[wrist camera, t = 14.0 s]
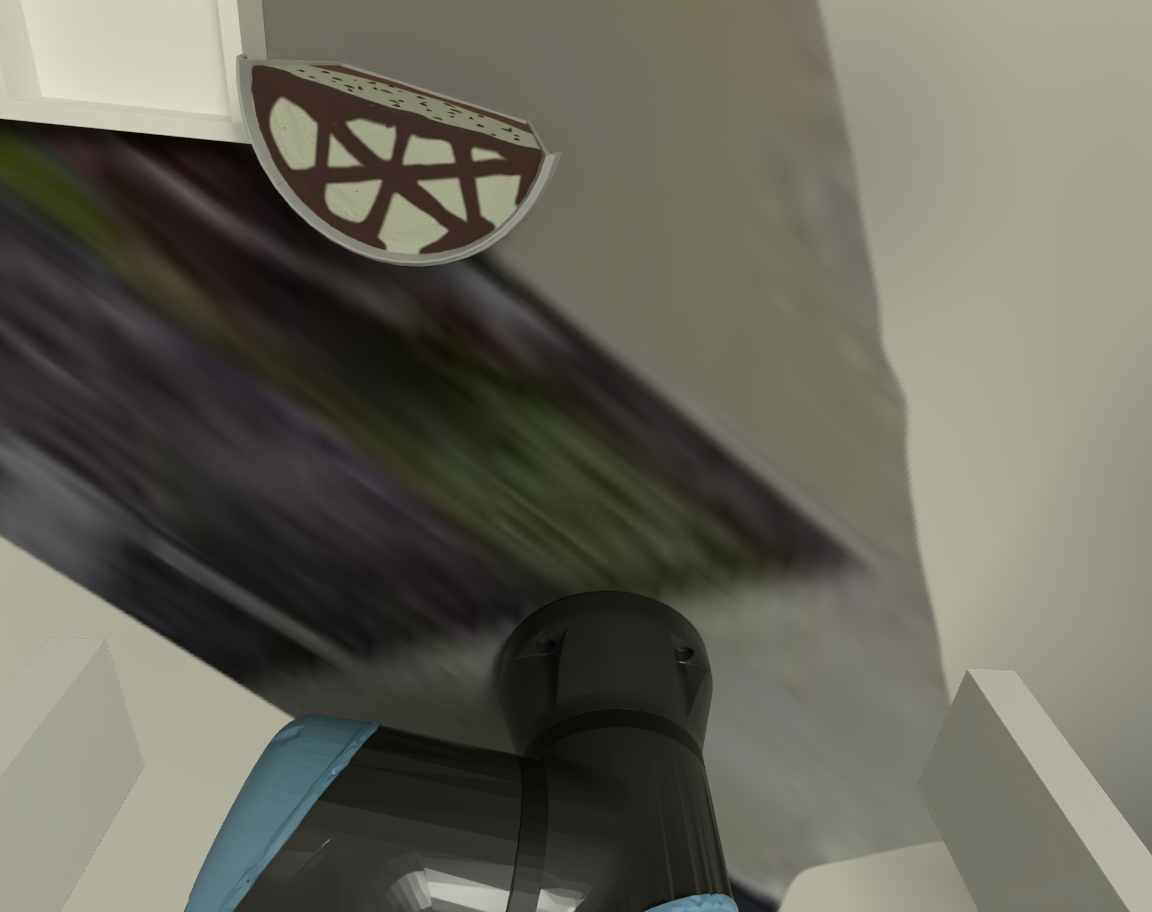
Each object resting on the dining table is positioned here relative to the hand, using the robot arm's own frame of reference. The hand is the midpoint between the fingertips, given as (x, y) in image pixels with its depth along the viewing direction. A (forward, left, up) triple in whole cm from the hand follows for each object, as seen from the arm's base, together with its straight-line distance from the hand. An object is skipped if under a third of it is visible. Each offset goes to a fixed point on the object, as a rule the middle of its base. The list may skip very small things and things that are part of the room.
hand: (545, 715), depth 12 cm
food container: (+4, +7, -31) cm, 32 cm away
